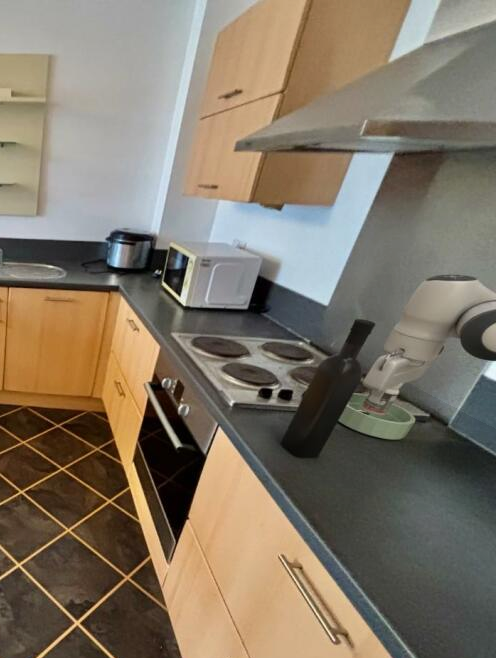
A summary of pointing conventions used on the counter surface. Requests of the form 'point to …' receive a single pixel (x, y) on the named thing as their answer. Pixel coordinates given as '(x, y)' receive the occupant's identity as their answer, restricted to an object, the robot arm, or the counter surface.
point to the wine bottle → (327, 395)
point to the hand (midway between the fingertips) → (380, 399)
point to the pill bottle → (382, 401)
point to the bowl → (377, 419)
